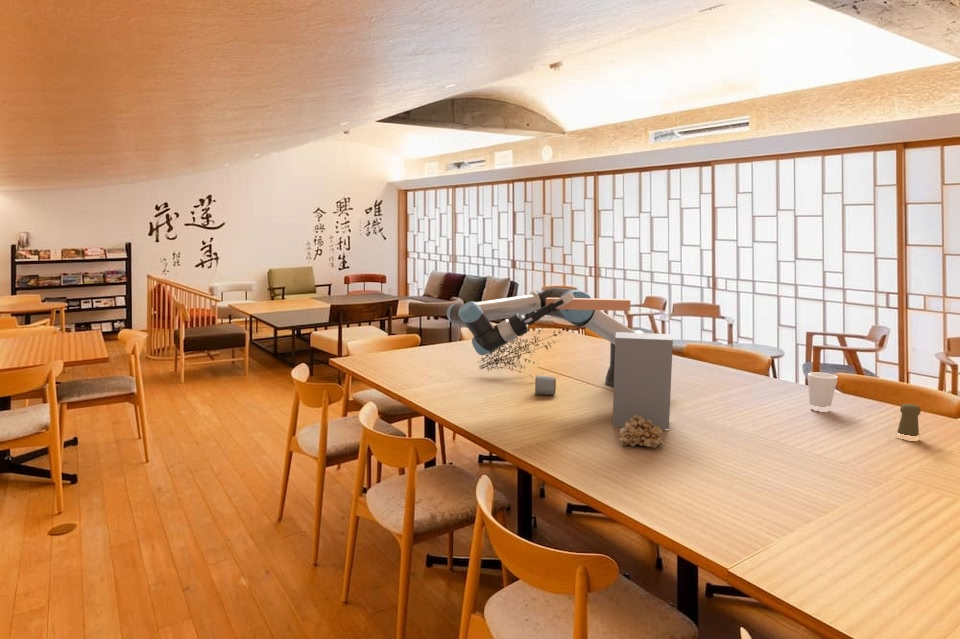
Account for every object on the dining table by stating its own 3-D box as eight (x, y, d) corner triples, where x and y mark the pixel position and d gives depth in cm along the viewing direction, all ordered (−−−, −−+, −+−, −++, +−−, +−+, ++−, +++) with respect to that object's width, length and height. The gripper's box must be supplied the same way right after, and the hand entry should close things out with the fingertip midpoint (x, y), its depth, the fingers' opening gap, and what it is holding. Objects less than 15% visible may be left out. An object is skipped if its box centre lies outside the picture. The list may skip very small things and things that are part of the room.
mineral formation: (616, 448, 183) (620, 429, 197) (661, 460, 180) (663, 440, 194) (621, 423, 181) (625, 406, 195) (667, 435, 178) (668, 417, 192)
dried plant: (456, 341, 264) (551, 301, 251) (478, 335, 294) (564, 299, 280) (483, 406, 262) (580, 370, 249) (502, 394, 292) (590, 361, 278)
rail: (545, 308, 208) (545, 298, 208) (547, 307, 212) (547, 297, 211) (630, 310, 202) (630, 300, 202) (630, 309, 205) (630, 299, 205)
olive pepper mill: (896, 434, 196) (899, 400, 194) (919, 437, 192) (922, 403, 191) (895, 439, 191) (899, 405, 189) (919, 443, 188) (923, 408, 186)
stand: (612, 426, 204) (615, 337, 200) (613, 416, 215) (616, 332, 211) (668, 430, 200) (672, 340, 195) (666, 419, 211) (670, 334, 207)
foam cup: (831, 407, 225) (834, 373, 223) (837, 414, 216) (840, 379, 215) (803, 405, 228) (805, 371, 226) (807, 412, 220) (810, 377, 218)
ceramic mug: (556, 397, 240) (556, 377, 239) (535, 396, 241) (535, 377, 240) (554, 390, 251) (554, 372, 250) (534, 390, 251) (534, 372, 250)
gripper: (522, 333, 222) (579, 302, 216) (514, 341, 206) (575, 308, 200) (512, 315, 222) (569, 283, 215) (503, 321, 206) (564, 288, 199)
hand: (572, 295), depth 207 cm, fingers closed on rail, 3 cm apart
